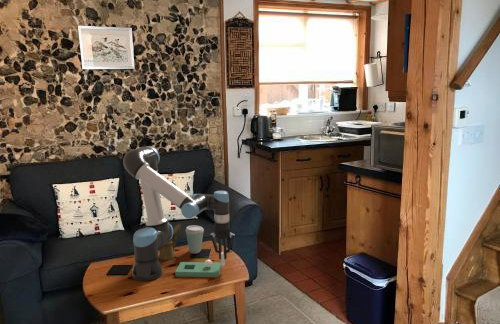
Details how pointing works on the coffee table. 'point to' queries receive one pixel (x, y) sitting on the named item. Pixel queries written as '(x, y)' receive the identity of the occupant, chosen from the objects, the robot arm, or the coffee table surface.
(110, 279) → the coffee table surface
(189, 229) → the disposable coffee cup
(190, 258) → the coffee table surface
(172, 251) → the wooden mug
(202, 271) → the putting mat
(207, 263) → the ball
